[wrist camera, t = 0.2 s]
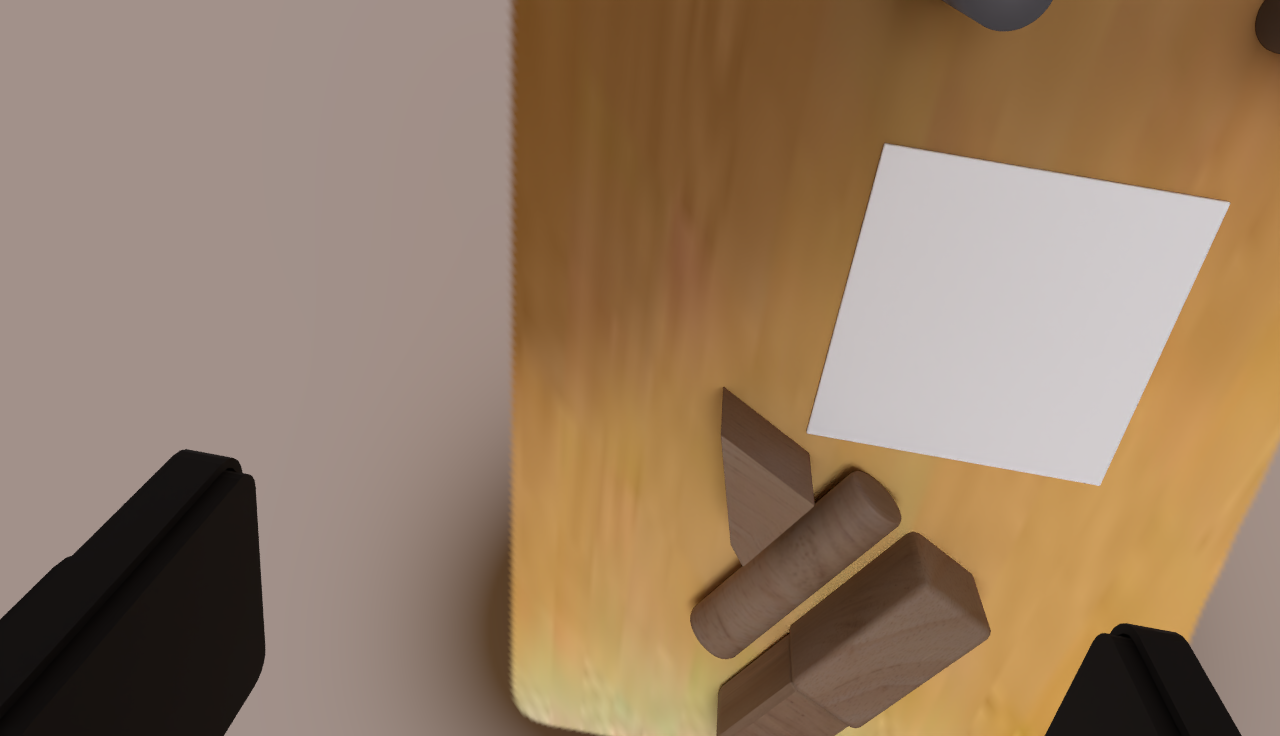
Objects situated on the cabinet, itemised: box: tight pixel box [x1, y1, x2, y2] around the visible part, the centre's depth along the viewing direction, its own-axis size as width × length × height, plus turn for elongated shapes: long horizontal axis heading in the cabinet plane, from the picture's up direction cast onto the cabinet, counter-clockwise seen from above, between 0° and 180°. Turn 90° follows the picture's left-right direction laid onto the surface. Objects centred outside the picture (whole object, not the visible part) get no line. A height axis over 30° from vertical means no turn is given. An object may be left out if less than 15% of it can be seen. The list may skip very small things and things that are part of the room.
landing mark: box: [807, 143, 1230, 486], centre depth 41 cm, size 14×14×1 cm
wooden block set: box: [690, 387, 991, 736], centre depth 47 cm, size 17×6×18 cm
